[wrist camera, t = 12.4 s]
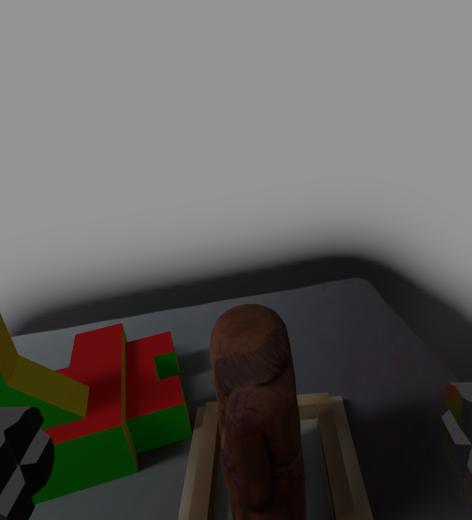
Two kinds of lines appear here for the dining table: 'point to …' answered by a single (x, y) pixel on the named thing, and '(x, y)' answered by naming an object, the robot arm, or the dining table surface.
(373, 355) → the dining table surface
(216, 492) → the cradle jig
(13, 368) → the building blocks toy
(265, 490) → the wooden figurine
